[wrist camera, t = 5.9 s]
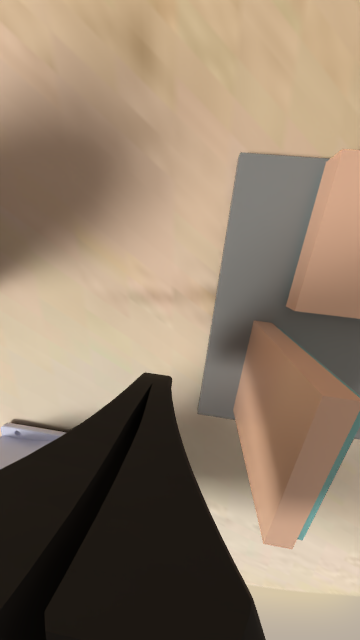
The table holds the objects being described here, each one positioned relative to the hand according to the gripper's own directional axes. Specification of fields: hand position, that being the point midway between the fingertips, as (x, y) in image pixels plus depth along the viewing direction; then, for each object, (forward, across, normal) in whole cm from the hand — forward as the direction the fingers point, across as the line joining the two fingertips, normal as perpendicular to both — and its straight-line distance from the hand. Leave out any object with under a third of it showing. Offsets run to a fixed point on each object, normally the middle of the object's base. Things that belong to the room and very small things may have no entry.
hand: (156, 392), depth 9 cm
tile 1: (+3, -6, 0) cm, 6 cm away
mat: (+4, -8, -4) cm, 10 cm away
